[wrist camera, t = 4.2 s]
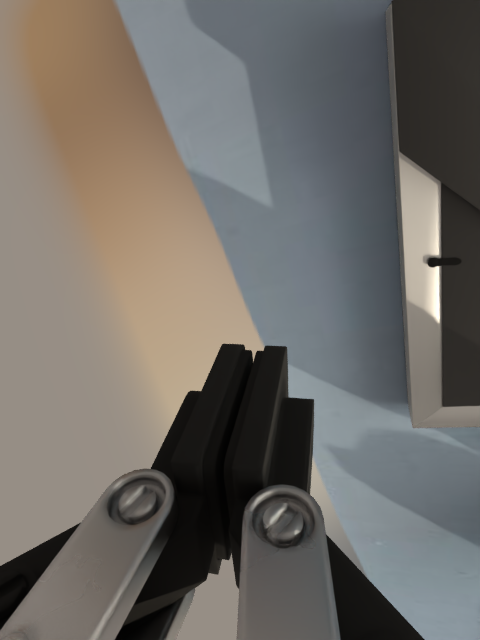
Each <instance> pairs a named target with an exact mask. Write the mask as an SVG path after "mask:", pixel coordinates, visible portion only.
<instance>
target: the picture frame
mask: <svg viewBox="0 0 480 640" xmlns="http://www.w3.org/2000/svg"><path fill="white" fill-rule="evenodd" d="M385 16H386V33H387V51H388V68H389V85H390V102H391V119H392V137H393V154H394V171H395V188H396V205H397V223H398V240H399V257H400V274H401V291H402V309H403V326H404V343H405V360H406V377H407V395H408V407H409V412H410V417H411V422H412V427H413V428H441V427H480V0H393V1H392V4H390V5H389V7H388V9H387V10H386V12H385Z"/></svg>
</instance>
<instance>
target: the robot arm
mask: <svg viewBox="0 0 480 640" xmlns="http://www.w3.org/2000/svg"><path fill="white" fill-rule="evenodd" d="M313 431H314V399H301V398H288V361H287V347H285V346H265V348H264V351H257V352H256V355H255V359H254V362H253V357H252V351H251V350H245V347H244V345H241V344H240V345H239V344H222V346H221V348H220V350H219V352H218V355H217V357H216V359H215V362H214V364H213V366H212V369H211V371H210V373H209V375H208V377H207V380H206V382H205V384H204V386H203V389H202V391H190V392H188V394H187V395H186V397H185V399H184V401H183V403H182V405H181V407H180V409H179V411H178V413H177V415H176V418H175V420H174V422H173V424H172V426H171V428H170V430H169V432H168V434H167V436H166V438H165V440H164V442H163V444H162V446H161V448H160V451H159V453H158V455H157V457H156V459H155V461H154V463H153V465H152V467H151V469H140V470H134V471H132V472H129V473H127V474H124V475H122V476H121V477H119V478H118V479H117V480H115V481H114V482H113V483H112V484H111V485H110V486H109V487H108V488H107V489H106V490H105V492H104V493H103V494H102V496H101V497H100V498H99V500H98V501H97V503H96V504H95V505H94V506H93V508H92V509H91V510H90V512H89V513H88V514H87V516H86V517H85V518H84V520H83V521H82V522H81V523H79V524H77V525H76V526H74V527H72V528H70V529H68V530H66V531H65V532H63V533H61V534H59V535H57V536H55V537H53V538H51V539H50V540H48V541H46V542H44V543H42V544H40V545H39V546H37V547H35V548H33V549H31V550H29V551H27V552H26V553H24V554H22V555H20V556H18V557H16V558H14V559H13V560H11V561H9V562H7V563H5V564H3V565H2V566H0V640H176V638H177V636H178V633H179V631H180V629H181V626H182V624H183V622H184V619H185V617H186V615H187V612H188V610H189V608H190V605H191V603H192V600H193V596H194V593H195V588H196V587H197V586H198V585H200V584H201V583H203V582H204V581H206V579H207V575H208V573H212V574H218V573H219V569H220V565H221V561H222V559H225V560H229V559H230V556H231V553H232V558H233V564H234V572H235V579H236V585H237V587H238V588H239V605H238V625H237V640H424V639H423V638H422V637H421V635H420V634H419V633H418V632H417V631H416V630H415V629H414V628H413V627H412V626H411V625H410V624H409V623H408V622H407V620H406V619H405V618H404V617H403V616H402V615H401V614H400V613H399V612H398V611H397V610H396V609H395V608H394V606H393V605H392V604H391V603H390V602H389V601H388V600H387V599H386V598H385V597H384V596H383V595H382V594H381V593H380V591H379V590H378V589H377V588H376V587H375V586H374V585H373V584H372V583H371V582H370V581H369V580H368V579H367V578H366V577H365V575H364V574H363V573H362V572H361V571H360V570H359V569H358V568H357V567H356V566H355V565H354V564H353V562H352V561H351V560H350V559H349V558H348V557H347V556H346V555H345V554H344V553H343V552H342V551H341V550H340V549H339V548H338V546H337V545H336V544H335V543H334V542H333V541H332V540H331V539H330V538H329V537H328V536H327V535H326V532H325V525H324V518H323V515H322V511H321V508H320V506H319V505H318V504H317V502H316V501H315V499H314V498H313V497H312V496H311V495H310V486H311V469H312V454H313Z"/></svg>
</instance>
